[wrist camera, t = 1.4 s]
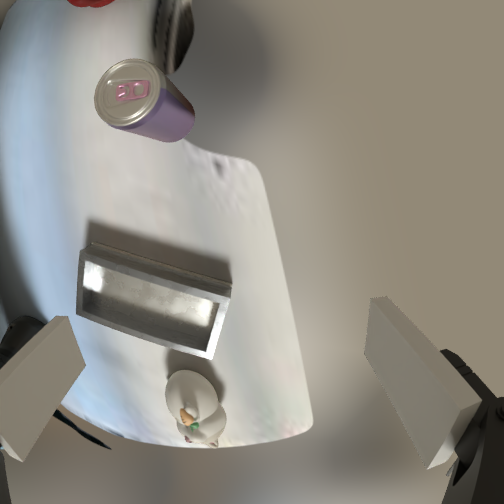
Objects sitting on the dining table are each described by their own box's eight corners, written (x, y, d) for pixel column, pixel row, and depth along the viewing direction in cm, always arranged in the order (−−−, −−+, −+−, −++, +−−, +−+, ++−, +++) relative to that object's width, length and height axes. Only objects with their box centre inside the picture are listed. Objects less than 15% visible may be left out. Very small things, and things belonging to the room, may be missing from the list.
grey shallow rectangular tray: (88, 303, 39) (76, 315, 35) (94, 241, 36) (79, 249, 32) (214, 344, 41) (211, 361, 37) (232, 283, 38) (231, 296, 34)
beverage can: (195, 141, 33) (160, 123, 19) (148, 144, 33) (89, 133, 19) (196, 95, 32) (164, 50, 17) (150, 99, 32) (95, 64, 17)
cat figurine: (161, 399, 32) (202, 469, 35) (216, 374, 36) (247, 446, 39) (148, 371, 41) (183, 438, 43) (193, 352, 45) (222, 419, 47)
